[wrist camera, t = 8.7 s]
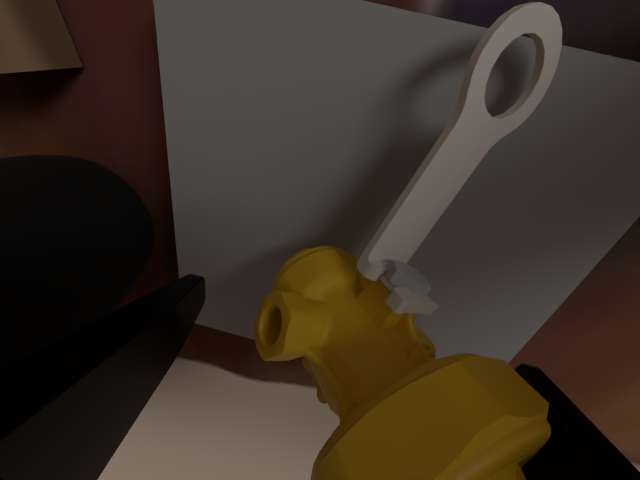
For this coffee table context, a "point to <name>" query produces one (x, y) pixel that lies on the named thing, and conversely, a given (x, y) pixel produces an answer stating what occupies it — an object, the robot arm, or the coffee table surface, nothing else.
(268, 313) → the pressure relief valve
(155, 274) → the coffee table surface
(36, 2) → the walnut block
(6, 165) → the mug
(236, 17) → the stand
